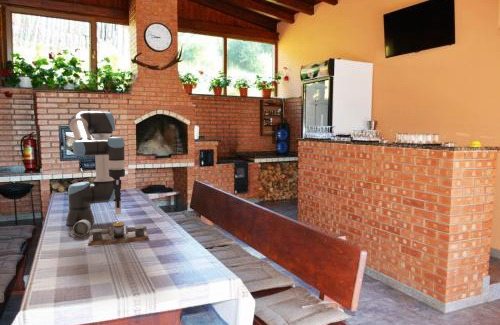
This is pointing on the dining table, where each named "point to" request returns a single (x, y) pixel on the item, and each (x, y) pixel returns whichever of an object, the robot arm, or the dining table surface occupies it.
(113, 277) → the dining table surface
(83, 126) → the robot arm
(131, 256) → the dining table surface
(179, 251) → the dining table surface
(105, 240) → the shaft bench
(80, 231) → the ceramic mug
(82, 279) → the dining table surface
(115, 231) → the knob
